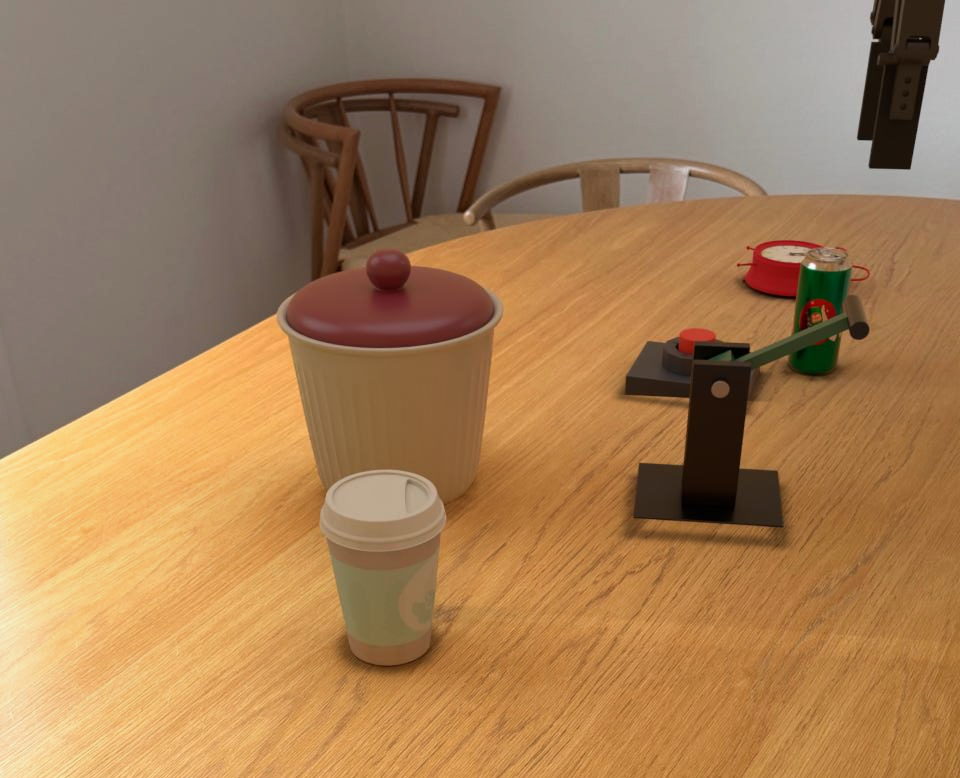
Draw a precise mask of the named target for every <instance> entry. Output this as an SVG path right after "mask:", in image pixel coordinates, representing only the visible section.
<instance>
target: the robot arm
mask: <svg viewBox="0 0 960 778" xmlns="http://www.w3.org/2000/svg"><path fill="white" fill-rule="evenodd" d="M945 5H946V0H873V7H872V11H870V14H869V20H870V25H871V32H870V34H871V36H872V40H877V41H871V42H870V48H869V54H868V62H867V67H866V75H865V80H864V87H863V95H862V101H861V102H862V103H861V108H860V114H859V121H858V128H857V136H856V139H857V141H867V142H870V141H871V146H870V151H869V159H868V168H869V169H871V170H907V171H909V170H911V168H912V163H913V158H914V153H915V152H914V151H915V147H916V146H915V145H916V140H917V135H918V129H919V123H920V117H921V112H922V106H923V100H924V94H925V90H926V85H927V78H928V72H929V66H930V65H931V64H930V63H931V61H935V60H936V59H937V58H938V54H939V52H940V37H941V30H942V24H943V17H944V12H945V11H944V10H945Z"/></svg>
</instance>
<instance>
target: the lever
mask: <svg viewBox="0 0 960 778" xmlns="http://www.w3.org/2000/svg"><path fill="white" fill-rule="evenodd" d="M843 309H844V313H842V314H840V315H838V316H835V317H833V318H831V319H828V320H826V321H824V322H821V323H819V324H817V325H814V326H812V327H810V328H808V329H805V330H803V331H801V332H798V333H796V334H794V335H791V334H790V335H789V336H787V337H785V338H781V339H780V340H777V341H775V342H773V343H771V344H768V345H766V346H763V347H761V348H759V349H756V350H754V351H751V352H752V353H749V354H747V355H745V356H742V357H740V358H738V359H735V358H734V356H733V354H732V352H731V350H729V351H727V352H725V353H722V354H720V355H718V356H715V357H713V358H711V359H708V360H716V361H737V362H751V370H754V369H756V368H759V367H760V368H761V367H763V366H765V365H768V364H770V363H772V362H775V361H777V360H780V359H782V358H785V357H786V356H787V357H788V355H789V354H792V353H794V352H796V351H799V350H801V349H803V348H806V347H808V346H810V345H813V344H815V343H818V342H820V341H822V340H825V339H827V338H829V337H832V336H834V335H836V334H839V333H841V332H842V333H843V332H846V331H848V332H849V333H848V334H849V336H850V337H851V338H852V339H853V340H855V341H861V340H864V339H866V338H867V337H868V336H869V334H870V331H871V330H870V329H871V328H870V325H869V321H868V318H867V314H866V311H865V308H864V304H863V300H862V298H861V297H860V296H859V295H857V294H852V295H848V297H846V298H845V300H844V301H843Z"/></svg>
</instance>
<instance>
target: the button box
mask: <svg viewBox="0 0 960 778" xmlns="http://www.w3.org/2000/svg"><path fill="white" fill-rule="evenodd" d="M715 342H724V341H723V340H720V339H717V338H716V340H715ZM678 347H679V336H676V337H673V338H671V339H668V340H666V341H665V342H662V341H661V342H660V341H652V340H647V341H646V343H645V344H644V346H643V348H642V349H641V350H640V352H639V353H638V356H637V357H636V359H635V360H634V362H633V364H632V366H631V367H630V369H629V370H628V372H627V373H626V375H625V387H624V395H625V396H637V397H638V396H640V397H660V398H681V399H689V396H690V385H691V373H692V362H693V355H690V354H685V353H682V352H680V351H679V350H678ZM752 352H753V351H750V353H752ZM760 370H761V367H759V368H756V369H754V370H751V376H750V384H749V393H748V401H747V402H749V400H750V398H751V395H752V393H753V390H754V388H755V385H756V382H757V380H758V377H759V375H760Z"/></svg>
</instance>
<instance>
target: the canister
mask: <svg viewBox="0 0 960 778" xmlns="http://www.w3.org/2000/svg"><path fill="white" fill-rule="evenodd" d="M503 317H504V305H503V302H502V300H501V299H500V297H499V296H498V295H497V294H495V293H494V292H493V291H492V290H491V289H488V288H487V287H485V286H483V285H481V284H479V283H478V282H477V281H476V280H473V279H471V278H469V277H468V276H465V275H463V274H459V273H456V272H453V271H451V270H445V269H441V268H436V267H429V266H421V265H412V264H411V261H410V259H409V257H408V256H407V254H406V253H404V252H403V251H401V250H399V249H397V248H390V247H389V248H388V247H385V248H380V249H377V250H375V251H373V252H372V253H371V254H370V255H369V256H368V258H367V260H366V262H365V266H364V267H357V268H350V269H347V270H346V269H345V270H342V271H337V272H334V273H331V274H328V275H326V276H325V275H324V276H322V277H320V278H317V279H315V280H313V281H311V282H309V283H307V284H306V285H304V286H302V287H301V288H300V289H299V290H297V291H296V292H295V293H293V294H291V295H289V297H287V298H286V299H285V300H283V301H282V302H281V304H280V305H279V307H278V309H277V311H276V322H277V325H278V326H279V328H280V330H281V331H282V332H283V333H284V334H285V335H286V336H287V338H288V343H289V349H290V353H291V354H290V355H291V359H292V363H293V369H294V372H295V377H296V382H297V386H298V391H299V396H300V401H301V405H302V406H301V407H302V410H303V416H304V420H305V424H306V428H307V432H308V436H309V441H310V444H311V445H310V446H311V449H312V454H313V457H314V461H315V465H316V469H317V473H318V477H319V479H320V482H321V483H322V485H323V487H324V489H325V490H326V493H327V492H328V490H329V489H330V487H331V486H332V485H334V484H335V483H336V482H338V481H339V480H341V479H343V478H345V477H348V476H350V475H353V474H357V473H361V472H366V471H372V470H399V471H406V472H410V473H414V474H417V475H420V476H422V477H424V478H426V479H427V480H429V481H430V482H431V483H432V484H433V485H434V486H435V488H436V490H437V493H438V496H439V498H440V500H441V501H442V503H443V505H444V506H445V505H446V504H450V503H451V502H453V501H455V500H457V499H459V498H460V497H461V496H462V495H465V494H466V492H467V491H468V490H470V489H471V486H472V485H473V483H474V481H475V479H476V476H477V472H478V468H479V464H480V459H481V451H482V444H483V437H484V430H485V422H486V414H487V404H488V397H489V396H488V395H489V388H490V387H489V386H490V375H491V367H492V360H493V359H492V358H493V351H494V350H493V348H494V338H495V337H494V336H495V328H496V327H498V325H499V324H500V322H501V320H502V319H503Z"/></svg>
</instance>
